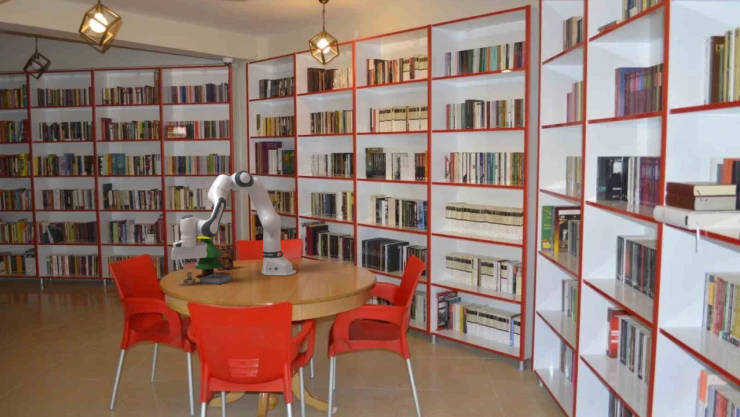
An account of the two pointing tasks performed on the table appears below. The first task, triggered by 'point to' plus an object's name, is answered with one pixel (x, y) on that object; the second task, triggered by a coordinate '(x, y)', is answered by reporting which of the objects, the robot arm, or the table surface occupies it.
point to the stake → (189, 280)
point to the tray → (216, 279)
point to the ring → (190, 265)
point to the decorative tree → (209, 258)
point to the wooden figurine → (226, 256)
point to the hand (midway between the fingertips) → (189, 266)
